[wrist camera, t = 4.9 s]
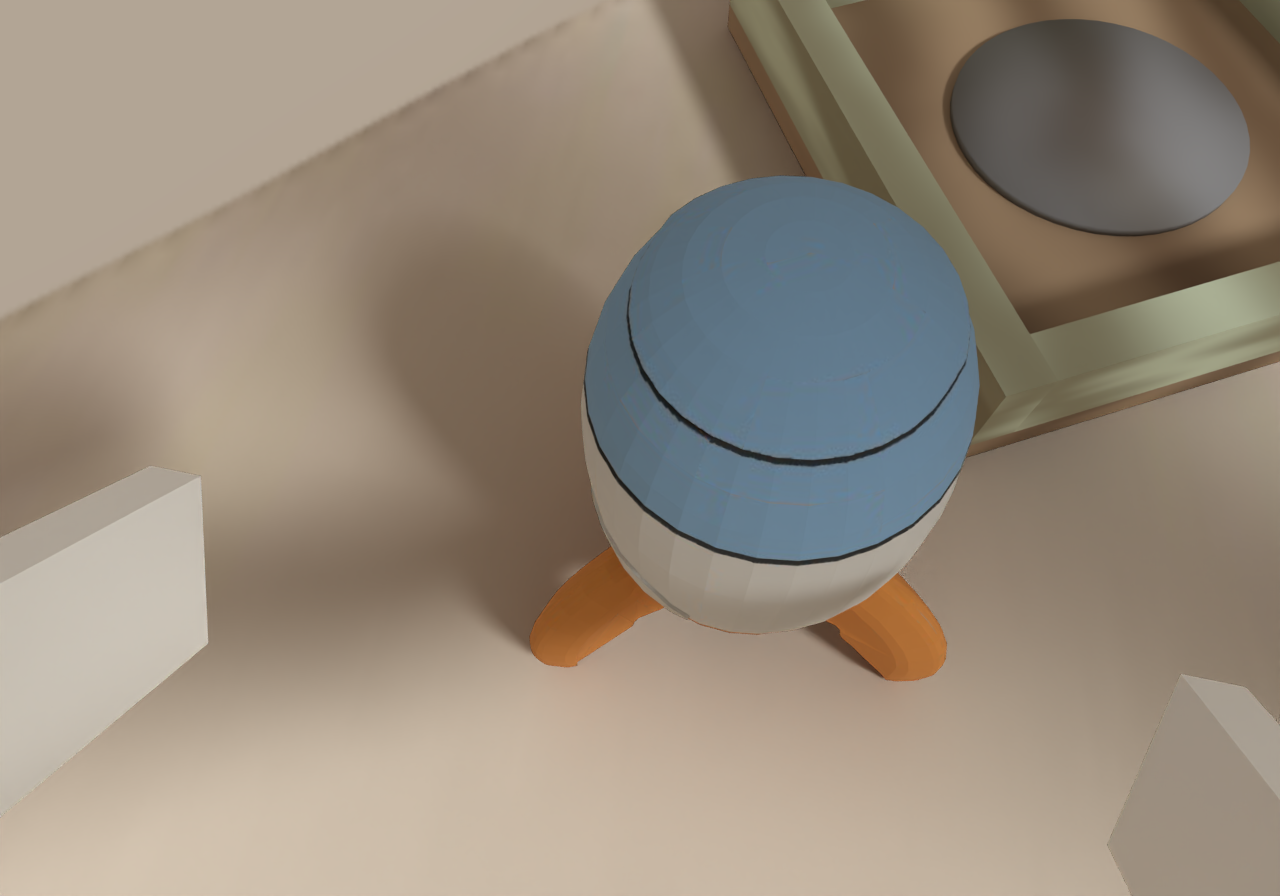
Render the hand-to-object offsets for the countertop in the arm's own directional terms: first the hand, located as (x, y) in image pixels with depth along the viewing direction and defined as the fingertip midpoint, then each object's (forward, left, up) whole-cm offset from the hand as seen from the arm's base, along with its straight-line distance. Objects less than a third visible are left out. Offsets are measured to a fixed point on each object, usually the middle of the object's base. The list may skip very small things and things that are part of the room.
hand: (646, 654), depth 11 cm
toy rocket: (-4, -5, -12) cm, 14 cm away
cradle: (-21, -15, -12) cm, 28 cm away
